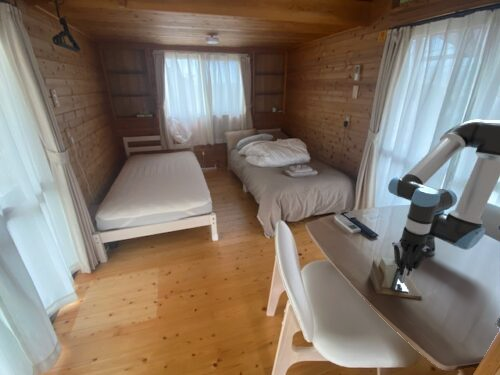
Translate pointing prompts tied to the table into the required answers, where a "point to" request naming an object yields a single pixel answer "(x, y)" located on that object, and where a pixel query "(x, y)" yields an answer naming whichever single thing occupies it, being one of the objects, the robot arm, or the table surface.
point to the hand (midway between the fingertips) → (401, 280)
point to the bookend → (398, 283)
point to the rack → (378, 280)
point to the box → (388, 271)
